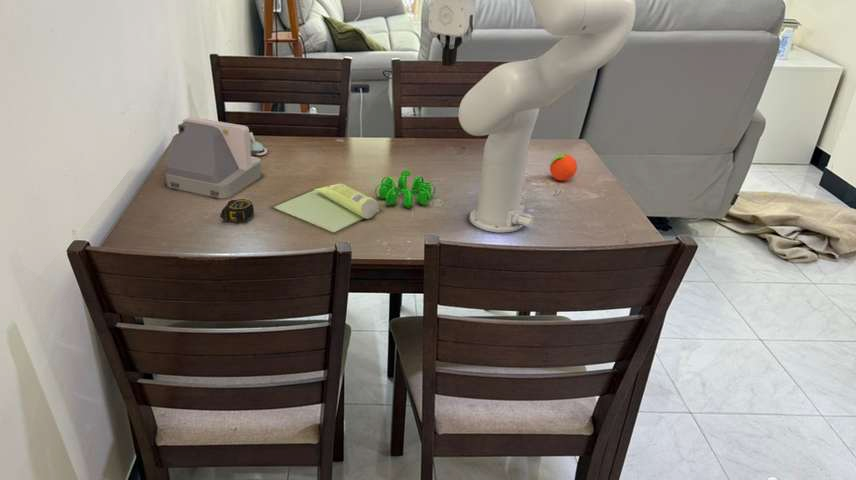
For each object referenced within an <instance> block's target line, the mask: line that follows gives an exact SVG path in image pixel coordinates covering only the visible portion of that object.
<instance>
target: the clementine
mask: <svg viewBox="0 0 856 480" xmlns="http://www.w3.org/2000/svg"><path fill="white" fill-rule="evenodd" d="M577 170H578V164H577V161H576V159H575V158H574V157H573V156H571V155H570V154H566V153H561V154H558V155H557V156H555V157H554V158H553V159H552V160H551V162H550V164H549V171H550V175H551V176H552V177H553V178H554V179H555V180H556V181H568V180H570V179H572V178H573V177H574V176H575V175H576V173H577Z"/></svg>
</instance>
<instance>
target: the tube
mask: <svg viewBox="0 0 856 480" xmlns="http://www.w3.org/2000/svg"><path fill="white" fill-rule="evenodd" d="M314 190H316V191H318V192H320V193H321V194H323V195H325V196H326V197H328V198H330V199H332V200H333V201H335V202H337V203H339V204H340V205H342V206H344V207H345V208H347V209H349V210H351V211H353V212H354V213H356V214H358V215H360V216H361V217H363V218H364V219H366V220H369V219H371V218H373V217H375V215H376V214H377V213H378V212H377V210H379V204H378V202H377V200H376V199H375V198H373V197H371V196H368V195H367V194H364V193H363V192H360V191H358V190H356V189H355V188H352V187H350V186H348V185H345V184H344V183H335V184H332V185H326V186H323V187H318V188H314Z"/></svg>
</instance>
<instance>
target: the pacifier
mask: <svg viewBox="0 0 856 480" xmlns="http://www.w3.org/2000/svg"><path fill="white" fill-rule="evenodd" d="M249 136H250V150H251V156H256V157H258V156H260V157H261V156H264V155H266V154H267V153H268V149H267V148H266V147H264V146H263V144H262V143H261V142H259V141H256V140H255V139H256V138H255V136H254V133H253V132H252V131H249Z"/></svg>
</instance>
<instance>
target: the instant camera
mask: <svg viewBox="0 0 856 480" xmlns="http://www.w3.org/2000/svg"><path fill="white" fill-rule="evenodd" d="M177 131H178V133H177V134H175V135H173V136H172V139H171V143H170V146H169V149H168V153H167V155H166V159H165V169H166V172H165V182H166V187H168V188H169V189H175V190H178V191H184V192H188V193H193V194H198V195H202V196H207V197H212V198H217V199H228V198H231V197H233V196H235V195H236V194H238V193H239V192H241V191H242V190H243V189H245V188H247V187H248V186H249V185H251V184H253V183H255V182H257V180H259V179H260V178H261V177H262V168H261V158H260V157H258V156H254V155H251V150H250V147H251V146H250V136H249V133H250V129H249V126H247V125H243V124H238V123H237V124H236V123H232V122H231V123H230V122H226V121H225V122H224V121H218V120H212V119H206V118H200V117H194V116H189V117H187V118H186V117H185V118H184V119H183V120H182V123H179V124H178V125H177Z"/></svg>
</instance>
